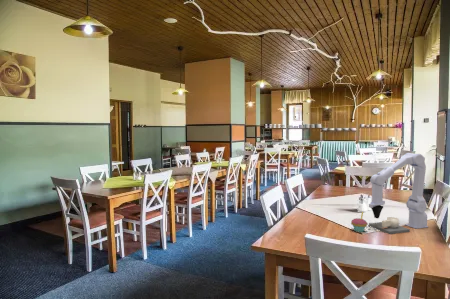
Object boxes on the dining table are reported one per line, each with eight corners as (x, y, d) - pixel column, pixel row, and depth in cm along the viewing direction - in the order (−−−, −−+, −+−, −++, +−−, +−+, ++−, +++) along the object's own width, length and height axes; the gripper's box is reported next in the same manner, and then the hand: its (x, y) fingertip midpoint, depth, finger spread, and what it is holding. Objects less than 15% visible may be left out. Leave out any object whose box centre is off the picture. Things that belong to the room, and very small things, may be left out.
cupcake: (369, 230, 181) (370, 210, 180) (363, 234, 175) (364, 213, 174) (354, 227, 187) (355, 207, 186) (348, 230, 181) (348, 210, 180)
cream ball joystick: (391, 222, 186) (391, 216, 186) (400, 225, 181) (401, 219, 181) (378, 225, 181) (378, 219, 181) (388, 228, 176) (388, 222, 176)
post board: (387, 223, 194) (387, 219, 194) (409, 231, 179) (409, 227, 178) (368, 225, 190) (368, 221, 190) (389, 234, 175) (389, 229, 174)
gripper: (377, 197, 177) (376, 221, 178) (390, 194, 186) (389, 217, 187) (365, 195, 183) (365, 218, 184) (378, 192, 191) (378, 214, 192)
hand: (376, 217), depth 186 cm, fingers closed
